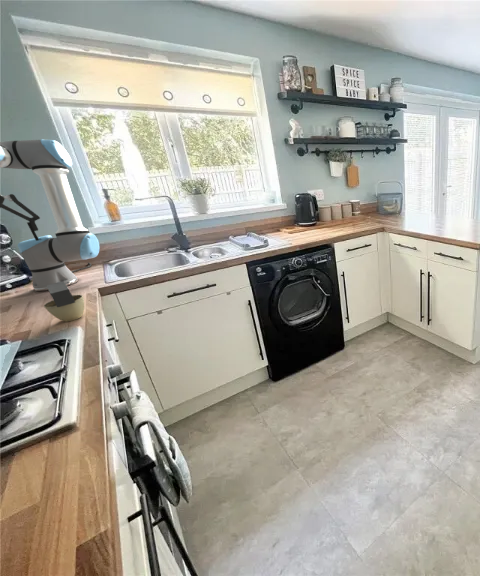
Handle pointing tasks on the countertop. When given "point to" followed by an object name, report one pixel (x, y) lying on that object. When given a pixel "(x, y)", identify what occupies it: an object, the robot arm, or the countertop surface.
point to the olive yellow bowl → (67, 309)
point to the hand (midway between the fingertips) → (10, 244)
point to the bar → (60, 294)
